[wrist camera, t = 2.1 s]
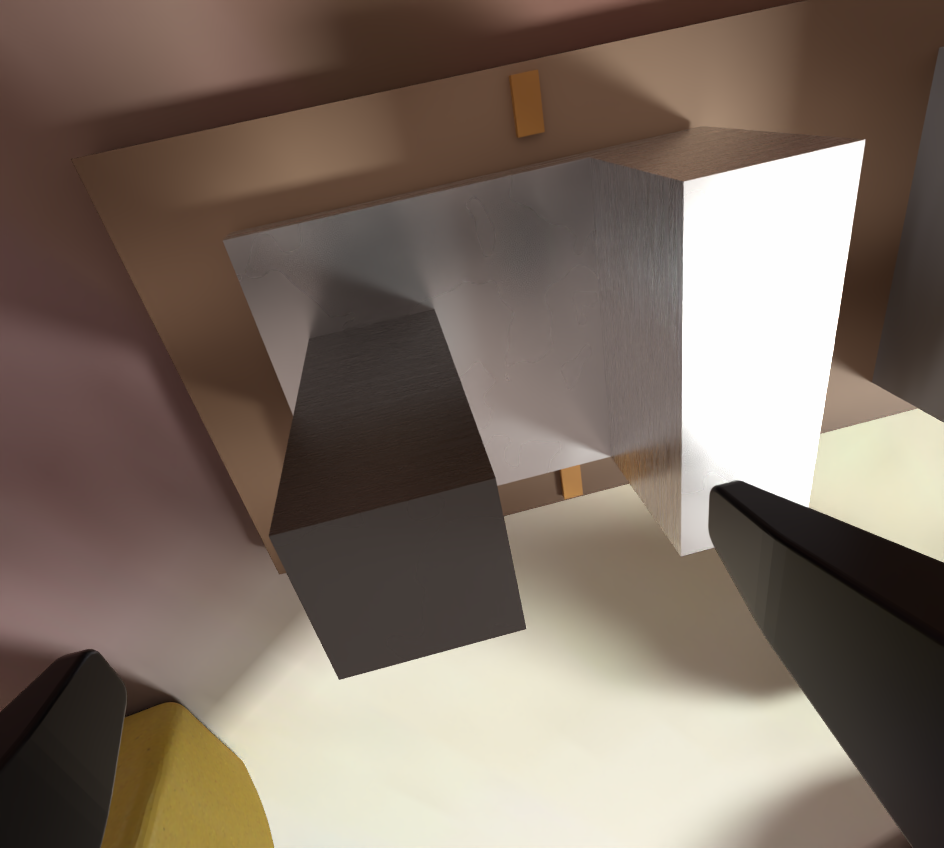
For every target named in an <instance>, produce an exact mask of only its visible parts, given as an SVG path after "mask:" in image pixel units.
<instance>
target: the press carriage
mask: <svg viewBox="0 0 944 848" xmlns="http://www.w3.org/2000/svg"><path fill="white" fill-rule="evenodd" d="M865 140H866V139H853V138H841V137H829V136H817V135H805V134H793V133H780V132H768V131H756V130H744V129H732V128H720V127H708V126H700V127H695V128H691V129H686V130H682V131H677V132H673V133H669V134H664V135H660V136H655V137H651V138H647V139H642V140H638V141H633V142H629V143H624V144H620V145H616V146H611V147H607V148H602V149H598V150H594V151H589V152H585V153H580V154H576V155H571V156H567V157H563V158H558V159H554V160H549V161H545V162H541V163H536V164H532V165H527V166H523V167H518V168H514V169H510V170H505V171H501V172H496V173H492V174H488V175H483V176H479V177H474V178H470V179H465V180H461V181H457V182H452V183H448V184H443V185H439V186H435V187H430V188H426V189H421V190H417V191H412V192H408V193H404V194H399V195H395V196H390V197H386V198H382V199H377V200H373V201H368V202H364V203H359V204H355V205H351V206H346V207H342V208H337V209H333V210H329V211H324V212H320V213H315V214H311V215H306V216H302V217H298V218H293V219H289V220H284V221H280V222H276V223H271V224H267V225H262V226H258V227H253V228H249V229H245V230H240V231H236V232H231V233H229V234H228V235H227V236H226V237H225V239H224V240H223V243H224V245H225V248H226V250H227V253H228V255H229V258H230V260H231V263H232V265H233V268H234V270H235V273H236V275H237V278H238V280H239V283H240V285H241V287H242V290H243V292H244V295H245V297H246V300H247V302H248V305H249V307H250V310H251V312H252V315H253V317H254V320H255V322H256V325H257V327H258V330H259V332H260V335H261V337H262V340H263V342H264V345H265V347H266V349H267V352H268V354H269V357H270V359H271V362H272V364H273V367H274V369H275V372H276V374H277V377H278V379H279V382H280V384H281V387H282V389H283V392H284V394H285V397H286V399H287V402H288V404H289V407H290V409H291V411H292V414H293V419H292V424H291V429H290V434H289V439H288V444H287V449H286V453H285V458H284V463H283V468H282V473H281V478H280V483H279V488H278V493H277V498H276V502H275V507H274V512H273V517H272V522H271V527H270V532H269V538H270V540H271V542H272V544H273V546H274V548H275V550H276V553H277V555H278V557H279V559H280V561H281V563H282V565H283V567H284V569H285V571H286V573H287V575H288V577H289V579H290V581H291V583H292V585H293V587H294V589H295V591H296V593H297V595H298V597H299V599H300V601H301V603H302V605H303V607H304V609H305V611H306V613H307V616H308V618H309V620H310V622H311V624H312V626H313V628H314V630H315V632H316V634H317V636H318V638H319V640H320V642H321V644H322V646H323V648H324V650H325V652H326V654H327V656H328V658H329V660H330V662H331V664H332V666H333V668H334V670H335V672H336V674H337V676H338V679H339V680H340V679H344V678H348V677H351V676H355V675H359V674H362V673H366V672H370V671H374V670H377V669H381V668H385V667H388V666H392V665H396V664H399V663H403V662H407V661H410V660H414V659H418V658H421V657H425V656H429V655H432V654H436V653H440V652H443V651H447V650H451V649H454V648H458V647H462V646H465V645H469V644H473V643H476V642H480V641H484V640H487V639H491V638H495V637H499V636H502V635H506V634H510V633H513V632H517V631H521V630H524V629H526V625H525V620H524V615H523V610H522V605H521V600H520V595H519V590H518V585H517V581H516V576H515V571H514V566H513V561H512V556H511V551H510V546H509V541H508V536H507V531H506V526H505V521H504V516H503V511H502V506H501V502H500V497H499V492H498V487H497V486H498V485H502V484H506V483H510V482H514V481H518V480H522V479H526V478H529V477H533V476H537V475H541V474H545V473H549V472H553V471H557V470H561V469H564V468H568V467H572V466H576V465H580V464H584V463H588V462H592V461H596V460H599V459H603V458H607V457H611V458H612V459H613V461H614V462H615V464H616V465H617V466H618V468H619V469H620V471H621V472H622V474H623V475H624V476H625V478H626V479H627V481H628V482H629V484H630V485H631V486H632V488H633V489H634V491H635V492H636V493H637V495H638V496H639V498H640V499H641V501H642V502H643V503H644V505H645V506H646V508H647V509H648V511H649V512H650V513H651V515H652V516H653V518H654V519H655V520H656V522H657V523H658V525H659V526H660V528H661V529H662V530H663V532H664V533H665V535H666V536H667V538H668V539H669V540H670V542H671V543H672V545H673V546H674V547H675V549H676V550H677V552H678V553H679V555H680V556H685V555H689V554H692V553H696V552H700V551H703V550H707V549H711V548H715V547H714V546H713V544H712V541H711V539H710V536H709V531H708V516H709V494H710V490H711V488H712V487H714V486H715V485H718V484H722V483H726V482H730V481H734V480H741V481H744V482H747V483H749V484H752V485H754V486H757V487H759V488H762V489H764V490H766V491H769V492H771V493H774V494H776V495H779V496H781V497H784V498H786V499H789V500H791V501H793V502H796V503H798V504H801V505H803V506H806V507H808V505H809V499H810V492H811V486H812V479H813V473H814V467H815V460H816V454H817V447H818V441H819V435H820V428H821V422H822V415H823V409H824V403H825V396H826V390H827V383H828V377H829V371H830V364H831V358H832V351H833V345H834V339H835V332H836V326H837V319H838V313H839V307H840V300H841V294H842V287H843V281H844V275H845V268H846V262H847V255H848V249H849V243H850V236H851V230H852V223H853V217H854V211H855V204H856V198H857V191H858V185H859V178H860V172H861V166H862V159H863V153H864V146H865Z"/></svg>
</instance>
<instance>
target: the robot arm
mask: <svg viewBox="0 0 944 848" xmlns="http://www.w3.org/2000/svg"><path fill="white" fill-rule="evenodd" d="M708 531H709V536H710V539H711V541H712V544H713V546H714V547H715V549H716V551H717V553H718V555H719V556H720V558H721V560H722V562H723V564H724V565H725V567H726V569H727V571H728V573H729V574H730V576H731V578H732V580H733V582H734V583H735V585H736V587H737V589H738V591H739V593H740V594H741V596H742V598H743V600H744V602H745V603H746V605H747V607H748V609H749V611H750V612H751V614H752V616H753V618H754V620H755V621H756V623H757V625H758V626H759V628H760V630H761V631H762V633H763V635H764V636H765V638H766V639H767V641H768V642H769V644H770V645H771V647H772V648H773V650H774V651H775V652H776V654H777V655H778V657H779V658H780V660H781V661H782V662H783V664H784V665H785V667H786V668H787V670H788V671H789V672H790V674H791V675H792V677H793V678H794V680H795V681H796V682H797V684H798V685H799V687H800V688H801V690H802V691H803V692H804V694H805V695H806V697H807V698H808V699H809V701H810V702H811V704H812V705H813V707H814V708H815V709H816V711H817V712H818V714H819V715H820V717H821V718H822V719H823V721H824V722H825V724H826V725H827V727H828V728H829V729H830V731H831V732H832V734H833V735H834V737H835V738H836V739H837V741H838V742H839V744H840V745H841V746H842V748H843V749H844V751H845V752H846V754H847V755H848V756H849V758H850V759H851V761H852V762H853V764H854V765H855V766H856V768H857V769H858V771H859V772H860V774H861V775H862V776H863V778H864V779H865V781H866V782H867V784H868V785H869V786H870V788H871V789H872V791H873V792H874V794H875V795H876V796H877V798H878V799H879V801H880V802H881V803H882V805H883V806H884V808H885V809H886V811H887V812H888V813H889V815H890V816H891V818H892V819H893V821H894V822H895V823H896V825H897V826H898V828H899V829H900V831H901V832H902V833H903V835H904V836H905V838H906V839H907V841H908V842H909V843H910V845H911V846H912V848H944V563H943V562H941V561H938V560H936V559H933V558H931V557H929V556H926V555H924V554H921V553H919V552H916V551H914V550H911V549H909V548H906V547H904V546H902V545H899V544H897V543H894V542H892V541H889V540H887V539H884V538H882V537H879V536H877V535H875V534H872V533H870V532H867V531H865V530H862V529H860V528H857V527H855V526H852V525H850V524H848V523H845V522H843V521H840V520H838V519H835V518H833V517H830V516H828V515H825V514H823V513H820V512H818V511H816V510H813V509H811V508H808V507H806V506H803V505H801V504H798V503H796V502H793V501H791V500H789V499H786V498H784V497H781V496H779V495H776V494H774V493H771V492H769V491H766V490H764V489H762V488H759V487H757V486H754V485H752V484H749V483H747V482H744V481H741V480H734V481H730V482H726V483H722V484H718V485H715V486H714V487H712V488H711V490H710V494H709V516H708ZM126 704H127V691H126V687H125V685H124V683H123V681H122V680H121V678H120V677H119V676H118V675H117V674H116V672H115V671H114V670H113V669H112V667H111V666H110V665H109V664H108V662H107V661H106V660H105V659H104V657H103V656H102V655H101V654H100V653H99V652H98V651H96V650H93V649H86V650H82V651H79V652H75V653H71V654H67V655H64V656H62V657H60V658H58V659H57V660H56V661H55V662H54V663H52V664H51V665H50V666H49V667H48V668H47V669H46V670H45V671H44V672H43V673H42V674H41V675H40V676H39V677H37V678H36V679H35V680H34V681H33V682H32V683H31V684H30V685H29V686H28V687H27V688H26V689H25V690H24V691H22V692H21V693H20V694H19V695H18V696H17V697H16V698H15V699H14V700H13V701H12V702H11V703H10V704H9V705H7V706H6V707H5V708H4V709H3V710H2V711H1V712H0V848H101V845H102V841H103V837H104V833H105V829H106V825H107V820H108V816H109V811H110V805H111V800H112V795H113V788H114V782H115V775H116V769H117V762H118V756H119V749H120V743H121V736H122V730H123V723H124V717H125V710H126Z"/></svg>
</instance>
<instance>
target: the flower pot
mask: <svg viewBox="0 0 944 848" xmlns="http://www.w3.org/2000/svg"><path fill="white" fill-rule="evenodd" d="M101 848H274V844H273V840H272V836H271V832H270V828H269V824H268V820H267V817H266V814H265V811H264V808H263V805H262V803H261V800H260V798H259V795H258V793H257V790H256V788H255V786H254V784H253V782H252V779H251V777H250V775H249V773H248V771H247V769H246V767H245V765H244V763H243V762H242V760H241V759H240V758H238V757H237V756H236V755H235V754H234V753H233V752H232V751H231V750H229V749H228V748H227V747H226V746H225V745H224V744H223V743H222V742H221V741H220V740H219V739H218V738H216V737H215V736H214V735H213V734H212V733H211V732H210V731H209V730H208V729H207V728H206V727H205V726H204V725H203V724H202V723H201V722H200V721H198V720H197V719H196V718H195V717H194V716H193V715H192V714H191V713H190V712H189V711H188V710H187V709H186V708H185V707H184V706H182V705H180V704H179V703H174V702H168V703H163V704H159V705H157V706H154V707H152V708H149V709H146V710H144V711H141V712H139V713H136V714H133V715H130V716H128V717H125V718H124V723H123V730H122V736H121V743H120V749H119V756H118V762H117V769H116V775H115V782H114V788H113V795H112V800H111V805H110V811H109V816H108V820H107V825H106V829H105V833H104V837H103V841H102V845H101Z"/></svg>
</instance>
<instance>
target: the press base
mask: <svg viewBox="0 0 944 848" xmlns="http://www.w3.org/2000/svg"><path fill="white" fill-rule="evenodd" d="M700 126H708V127H720V128H732V129H744V130H756V131H768V132H780V133H793V134H805V135H817V136H829V137H841V138H853V139H866V140H865V146H864V153H863V159H862V166H861V172H860V178H859V185H858V191H857V198H856V204H855V211H854V217H853V223H852V230H851V236H850V243H849V249H848V255H847V262H846V268H845V275H844V281H843V287H842V294H841V300H840V307H839V313H838V319H837V326H836V332H835V339H834V345H833V351H832V358H831V364H830V371H829V377H828V383H827V390H826V396H825V403H824V409H823V415H822V422H821V428H820V434H821V433H825V432H829V431H833V430H836V429H840V428H844V427H848V426H852V425H856V424H859V423H863V422H867V421H871V420H875V419H879V418H883V417H886V416H890V415H894V414H898V413H902V412H906V411H909V410H913V409H917V408H919V409H920V410H922V411H924V412H926V413H928V414H930V415H931V416H933V417H935V418H937V419H939V420H940V421H942V422H944V0H805V1H801V2H796V3H791V4H787V5H782V6H777V7H773V8H768V9H763V10H759V11H754V12H750V13H745V14H740V15H736V16H731V17H726V18H722V19H717V20H713V21H708V22H703V23H699V24H694V25H689V26H685V27H680V28H676V29H671V30H666V31H662V32H657V33H652V34H648V35H643V36H639V37H634V38H629V39H625V40H620V41H615V42H611V43H606V44H602V45H597V46H592V47H588V48H583V49H578V50H574V51H569V52H564V53H560V54H555V55H551V56H546V57H541V58H537V59H532V60H527V61H523V62H518V63H514V64H509V65H504V66H500V67H495V68H490V69H486V70H481V71H477V72H472V73H467V74H463V75H458V76H453V77H449V78H444V79H440V80H435V81H430V82H426V83H421V84H416V85H412V86H407V87H403V88H398V89H393V90H389V91H384V92H379V93H375V94H370V95H365V96H361V97H356V98H352V99H347V100H342V101H338V102H333V103H328V104H324V105H319V106H315V107H310V108H305V109H301V110H296V111H291V112H287V113H282V114H278V115H273V116H268V117H264V118H259V119H254V120H250V121H245V122H241V123H236V124H231V125H227V126H222V127H217V128H213V129H208V130H204V131H199V132H194V133H190V134H185V135H180V136H176V137H171V138H166V139H162V140H157V141H153V142H148V143H143V144H139V145H134V146H129V147H125V148H120V149H116V150H111V151H106V152H102V153H97V154H92V155H88V156H83V157H79V158H74V159H71V160H72V162H73V164H74V166H75V168H76V170H77V172H78V174H79V176H80V178H81V180H82V182H83V184H84V186H85V188H86V190H87V192H88V194H89V196H90V198H91V200H92V202H93V204H94V206H95V208H96V210H97V212H98V214H99V216H100V218H101V220H102V222H103V224H104V226H105V228H106V230H107V232H108V234H109V236H110V238H111V240H112V242H113V244H114V246H115V248H116V250H117V252H118V254H119V256H120V258H121V260H122V262H123V264H124V266H125V268H126V270H127V272H128V274H129V276H130V278H131V280H132V282H133V284H134V286H135V288H136V290H137V292H138V294H139V296H140V298H141V300H142V302H143V304H144V306H145V308H146V310H147V312H148V314H149V316H150V318H151V320H152V322H153V324H154V326H155V328H156V330H157V332H158V334H159V336H160V338H161V340H162V342H163V344H164V346H165V348H166V350H167V352H168V354H169V356H170V358H171V360H172V362H173V364H174V366H175V368H176V370H177V372H178V374H179V376H180V378H181V380H182V382H183V383H184V385H185V387H186V389H187V391H188V393H189V395H190V397H191V399H192V401H193V403H194V405H195V407H196V409H197V411H198V413H199V415H200V417H201V419H202V421H203V423H204V425H205V427H206V429H207V431H208V433H209V435H210V437H211V439H212V441H213V443H214V445H215V447H216V449H217V451H218V453H219V455H220V457H221V459H222V461H223V463H224V465H225V467H226V469H227V471H228V473H229V475H230V477H231V479H232V481H233V483H234V485H235V487H236V489H237V491H238V493H239V495H240V497H241V499H242V501H243V503H244V505H245V507H246V509H247V511H248V513H249V515H250V517H251V519H252V521H253V523H254V525H255V527H256V529H257V531H258V533H259V535H260V537H261V539H262V541H263V543H264V545H265V547H266V549H267V551H268V553H269V555H270V557H271V559H272V561H273V563H274V565H275V567H276V569H277V571H278V573H279V574H283V573H286V571H285V569H284V567H283V565H282V563H281V561H280V559H279V557H278V555H277V553H276V550H275V548H274V546H273V544H272V542H271V540H270V538H269V532H270V527H271V522H272V517H273V512H274V507H275V502H276V498H277V493H278V488H279V483H280V478H281V473H282V468H283V463H284V458H285V453H286V449H287V444H288V439H289V434H290V429H291V424H292V419H293V414H292V411H291V409H290V407H289V404H288V402H287V399H286V397H285V394H284V392H283V389H282V387H281V384H280V382H279V379H278V377H277V374H276V372H275V369H274V367H273V364H272V362H271V359H270V357H269V354H268V352H267V349H266V347H265V345H264V342H263V340H262V337H261V335H260V332H259V330H258V327H257V325H256V322H255V320H254V317H253V315H252V312H251V310H250V307H249V305H248V302H247V300H246V297H245V295H244V292H243V290H242V287H241V285H240V283H239V280H238V278H237V275H236V273H235V270H234V268H233V265H232V263H231V260H230V258H229V255H228V253H227V250H226V248H225V245H224V243H223V240H224V239H225V237H226V236H227V235H228V234H229V233H231V232H236V231H240V230H245V229H249V228H253V227H258V226H262V225H267V224H271V223H276V222H280V221H284V220H289V219H293V218H298V217H302V216H306V215H311V214H315V213H320V212H324V211H329V210H333V209H337V208H342V207H346V206H351V205H355V204H359V203H364V202H368V201H373V200H377V199H382V198H386V197H390V196H395V195H399V194H404V193H408V192H412V191H417V190H421V189H426V188H430V187H435V186H439V185H443V184H448V183H452V182H457V181H461V180H465V179H470V178H474V177H479V176H483V175H488V174H492V173H496V172H501V171H505V170H510V169H514V168H518V167H523V166H527V165H532V164H536V163H541V162H545V161H549V160H554V159H558V158H563V157H567V156H571V155H576V154H580V153H585V152H589V151H594V150H598V149H602V148H607V147H611V146H616V145H620V144H624V143H629V142H633V141H638V140H642V139H647V138H651V137H655V136H660V135H664V134H669V133H673V132H677V131H682V130H686V129H691V128H695V127H700ZM625 484H629V482H628V481H627V479H626V478H625V476H624V475H623V474H622V472H621V471H620V469H619V468H618V466H617V465H616V464H615V462H614V461H613V459H612V458H611V457H607V458H603V459H599V460H596V461H592V462H588V463H584V464H580V465H576V466H572V467H568V468H564V469H561V470H557V471H553V472H549V473H545V474H541V475H537V476H533V477H529V478H526V479H522V480H518V481H514V482H510V483H506V484H502V485H498V486H497V487H498V492H499V497H500V502H501V506H502V511H503V516H506V515H510V514H514V513H518V512H521V511H525V510H529V509H533V508H537V507H541V506H544V505H548V504H552V503H556V502H560V501H564V500H567V499H571V498H575V497H579V496H583V495H587V494H591V493H594V492H598V491H602V490H606V489H610V488H614V487H617V486H621V485H625Z"/></svg>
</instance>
